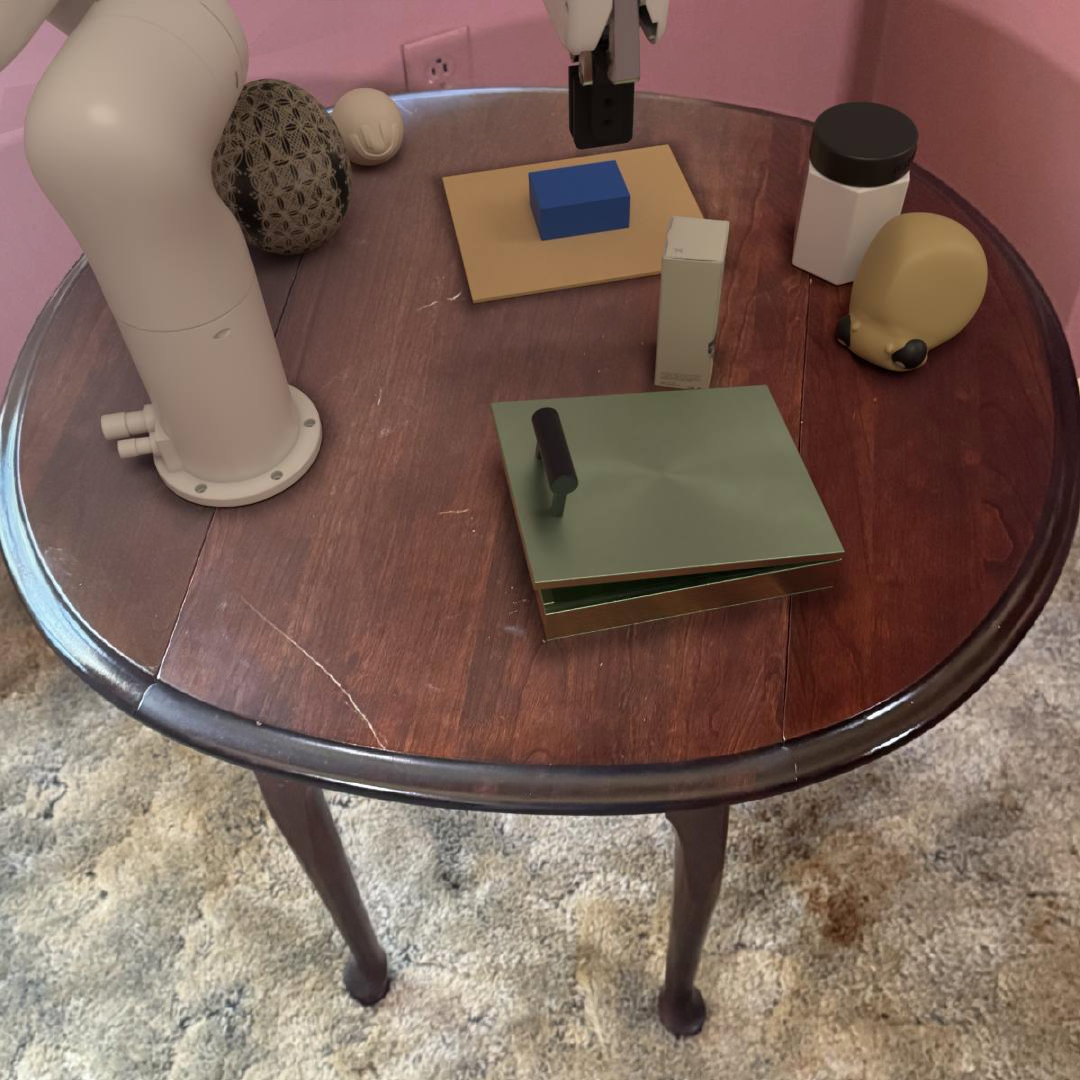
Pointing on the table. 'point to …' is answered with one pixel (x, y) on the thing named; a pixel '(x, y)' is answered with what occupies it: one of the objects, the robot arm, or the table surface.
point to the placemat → (541, 266)
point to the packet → (579, 200)
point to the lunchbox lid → (658, 486)
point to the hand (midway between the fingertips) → (600, 137)
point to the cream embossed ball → (368, 125)
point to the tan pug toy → (913, 290)
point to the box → (690, 301)
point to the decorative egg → (282, 168)
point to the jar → (851, 186)
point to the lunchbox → (673, 596)
